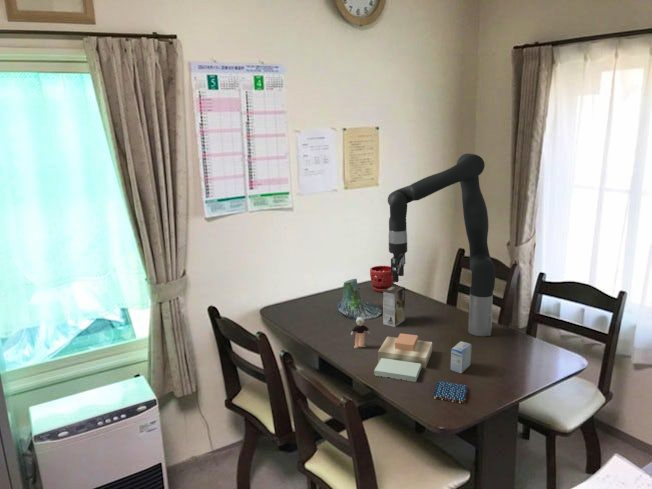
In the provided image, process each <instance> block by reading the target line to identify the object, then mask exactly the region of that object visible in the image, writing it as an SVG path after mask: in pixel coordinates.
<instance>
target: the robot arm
mask: <svg viewBox="0 0 652 489" xmlns="http://www.w3.org/2000/svg"><path fill="white" fill-rule="evenodd" d="M485 166H486V164H485V161H484V159H483V158H482V157H481V156H479V154H474V153H464V154H462V155H460V157H459V158H458V159H457V161H456V164H455V165H453V166H452V167H449V168H447V169H446V170H443V171H441V172H438V173H435V174H432V175H428V176H427V177H423V178H421V179H419V180H417V181H415V182H413V183H411V184H410V185H407V186H403V187H401V188H398V189H396V190H394V191H392V192H390V193H389V194H388V197H387V203H388V205H389V218H388V252H389V253H390V254H393V256H392V257H391V258H390V267H391V273H393V283H398V282H400V281H399V280H400V278H399V277H404V274H405V273H404V272H405V269H404V268H405V265H406V253H407V252H408V231H407V230H408V229H407V214H408V213H407V212H408V204H409V203H411V202H413V201H420V200H422V199H425V198H427V197H428V196H429V197H430V196H431V195H432V194H434V193H436V192H439V191H441V190H443V189H445V188H447V187H450V186H451V185H454V184H457V183H460V188H461V199H462V200H461V201H462V202H461V203H462V210H463V221H464V226H465V231H466V232H465V233H466V236H467V237H466V238H467V241H468V244H469V247H468V248H469V269H470V272H471V282H470V286H469V287H470V288H469V302H468V304H469V306H468V326H467V329H468V330H467V332H468V333H469V334H470V335H473V336H476V337H487V336H488V337H491V335H492V324H493V300H494V299H493V298H494V290H495V286H496V285H495V284H496V265H495V263H494V262H493V261H492V259H491V255H490V251H489V246H488V236H489V235H488V234H489V215H488V214H489V213H488V208H487V204H486V201H485V199H484V195H483V192H482V191H481V187H480V176H481V175H482V173H483V172H484V170H485ZM394 269H395V270H394Z"/></svg>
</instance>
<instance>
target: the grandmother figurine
mask: <svg viewBox="0 0 652 489" xmlns="http://www.w3.org/2000/svg"><path fill="white" fill-rule="evenodd" d="M355 322H356V325H355V326H354V327H353V328H352V329H351V333H350V335H351V336H353V335H354V334H355V335H354V336H355V338H354V346H353V348H354V349H359V348H361V347H365V348H366V345H365V340H366V339H365V332H366V333H367V334H368V335H369V334H371V331H370V329H369V328H368V327H367V326H366V325H364V324H365V320H364V319H363V318H361V317H359V318H357V320H356V319H355Z"/></svg>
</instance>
